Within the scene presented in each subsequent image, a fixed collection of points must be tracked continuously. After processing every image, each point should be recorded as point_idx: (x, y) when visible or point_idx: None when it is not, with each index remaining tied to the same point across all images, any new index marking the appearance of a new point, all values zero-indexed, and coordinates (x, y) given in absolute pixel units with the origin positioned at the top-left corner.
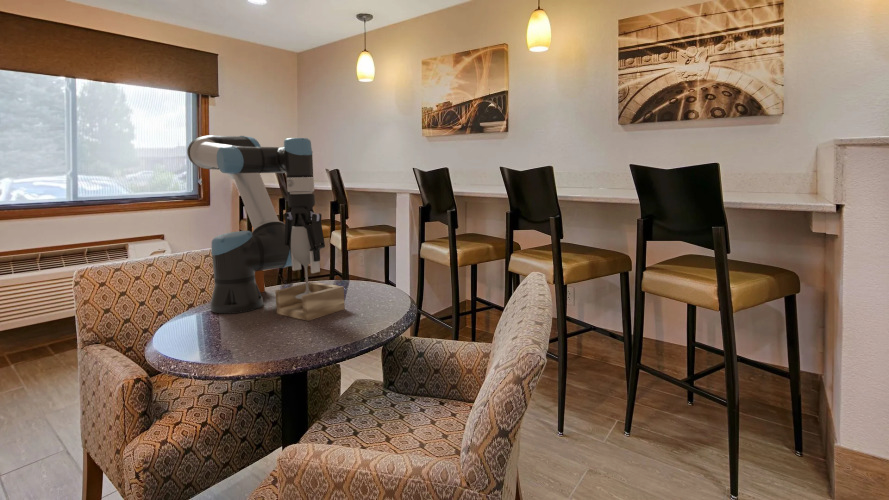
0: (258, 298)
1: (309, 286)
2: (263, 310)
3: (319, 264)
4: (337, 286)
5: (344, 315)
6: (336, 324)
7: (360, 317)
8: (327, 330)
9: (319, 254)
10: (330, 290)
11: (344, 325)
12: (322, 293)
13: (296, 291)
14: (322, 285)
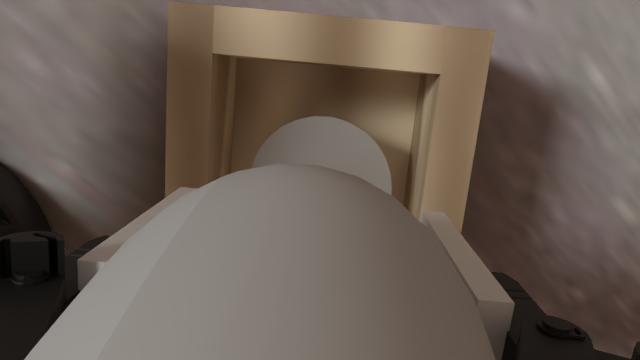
0: (9, 228)
1: (216, 77)
2: (99, 235)
3: (460, 234)
4: (448, 45)
5: (522, 132)
6: (574, 256)
7: (619, 125)
8: (588, 330)
9: (537, 313)
10: (473, 151)
11: (617, 252)
12: (461, 213)
13: (214, 179)
14: (322, 62)
